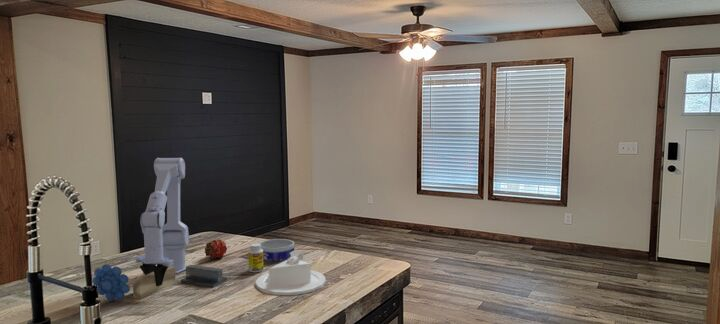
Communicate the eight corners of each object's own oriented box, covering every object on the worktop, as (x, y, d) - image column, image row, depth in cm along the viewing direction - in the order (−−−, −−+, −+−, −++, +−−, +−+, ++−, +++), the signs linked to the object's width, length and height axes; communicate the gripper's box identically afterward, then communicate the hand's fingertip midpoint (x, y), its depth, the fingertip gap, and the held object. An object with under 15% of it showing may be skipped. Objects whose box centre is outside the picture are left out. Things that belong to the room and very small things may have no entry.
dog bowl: (251, 261, 194) (251, 246, 194) (267, 251, 209) (266, 237, 209) (286, 263, 191) (286, 249, 190) (299, 253, 206) (299, 239, 205)
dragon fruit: (206, 265, 192) (221, 261, 204) (222, 254, 191) (236, 251, 202) (196, 248, 194) (212, 245, 205) (211, 237, 192) (227, 234, 204)
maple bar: (133, 298, 154) (132, 280, 153) (168, 282, 169) (168, 265, 168) (140, 299, 153) (139, 281, 152) (175, 283, 168) (174, 266, 167)
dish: (297, 267, 186) (297, 240, 185) (339, 283, 168) (339, 253, 167) (242, 282, 169) (242, 252, 168) (283, 302, 151) (282, 268, 150)
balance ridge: (180, 282, 168) (180, 269, 167) (195, 275, 175) (195, 262, 175) (213, 287, 163) (212, 273, 163) (227, 280, 171) (226, 266, 170)
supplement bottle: (251, 273, 178) (251, 247, 177) (246, 269, 182) (246, 244, 181) (265, 271, 181) (265, 245, 180) (260, 267, 185) (259, 242, 184)
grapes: (86, 306, 147) (84, 268, 146) (97, 297, 154) (95, 262, 152) (123, 305, 147) (122, 268, 146) (133, 297, 154) (131, 261, 153)
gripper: (127, 246, 158) (129, 285, 159) (162, 251, 153) (163, 291, 154) (143, 241, 164) (145, 279, 166) (177, 245, 160) (178, 284, 161)
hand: (155, 284), depth 160 cm, fingers closed on maple bar, 3 cm apart
